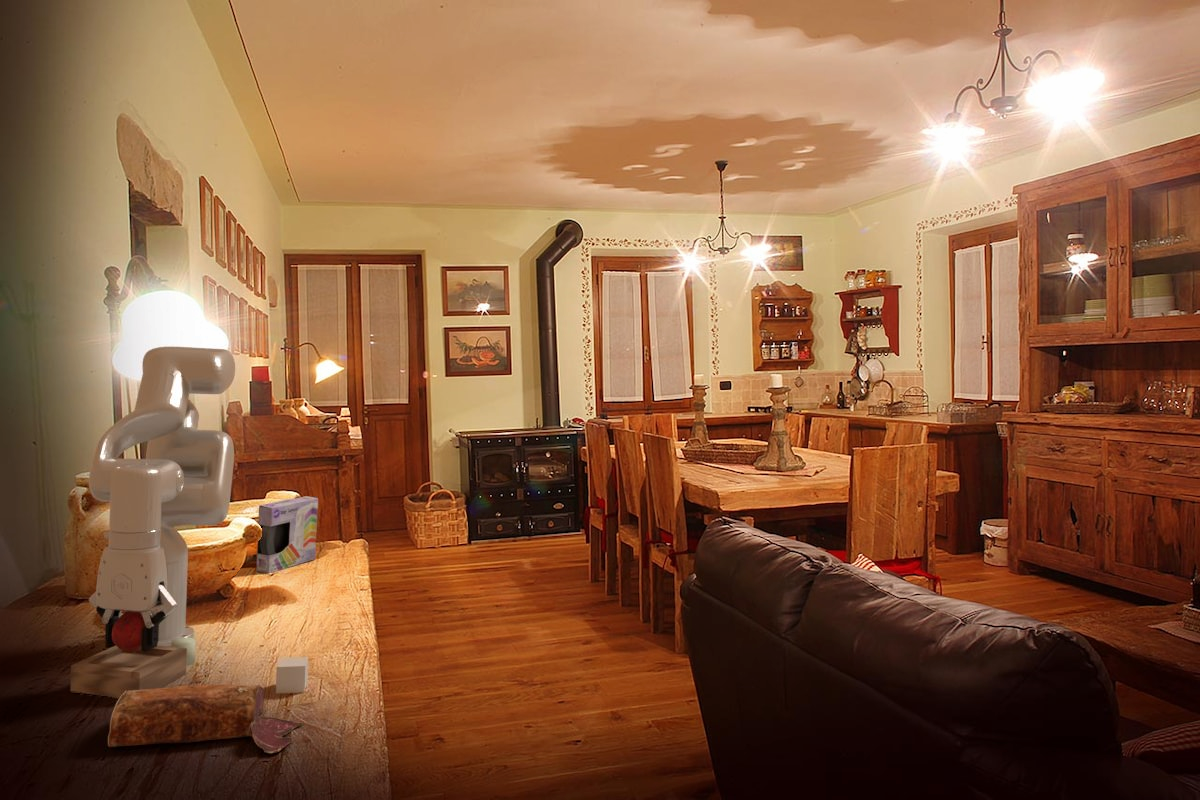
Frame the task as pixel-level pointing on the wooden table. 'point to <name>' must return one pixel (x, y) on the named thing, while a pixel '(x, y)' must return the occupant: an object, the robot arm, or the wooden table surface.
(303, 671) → the grey ceramic cube
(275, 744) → the cured meat
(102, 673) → the shallow wooden tray
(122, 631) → the red fruit
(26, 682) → the wooden table surface
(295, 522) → the cake pan box
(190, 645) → the sage painted capsule
